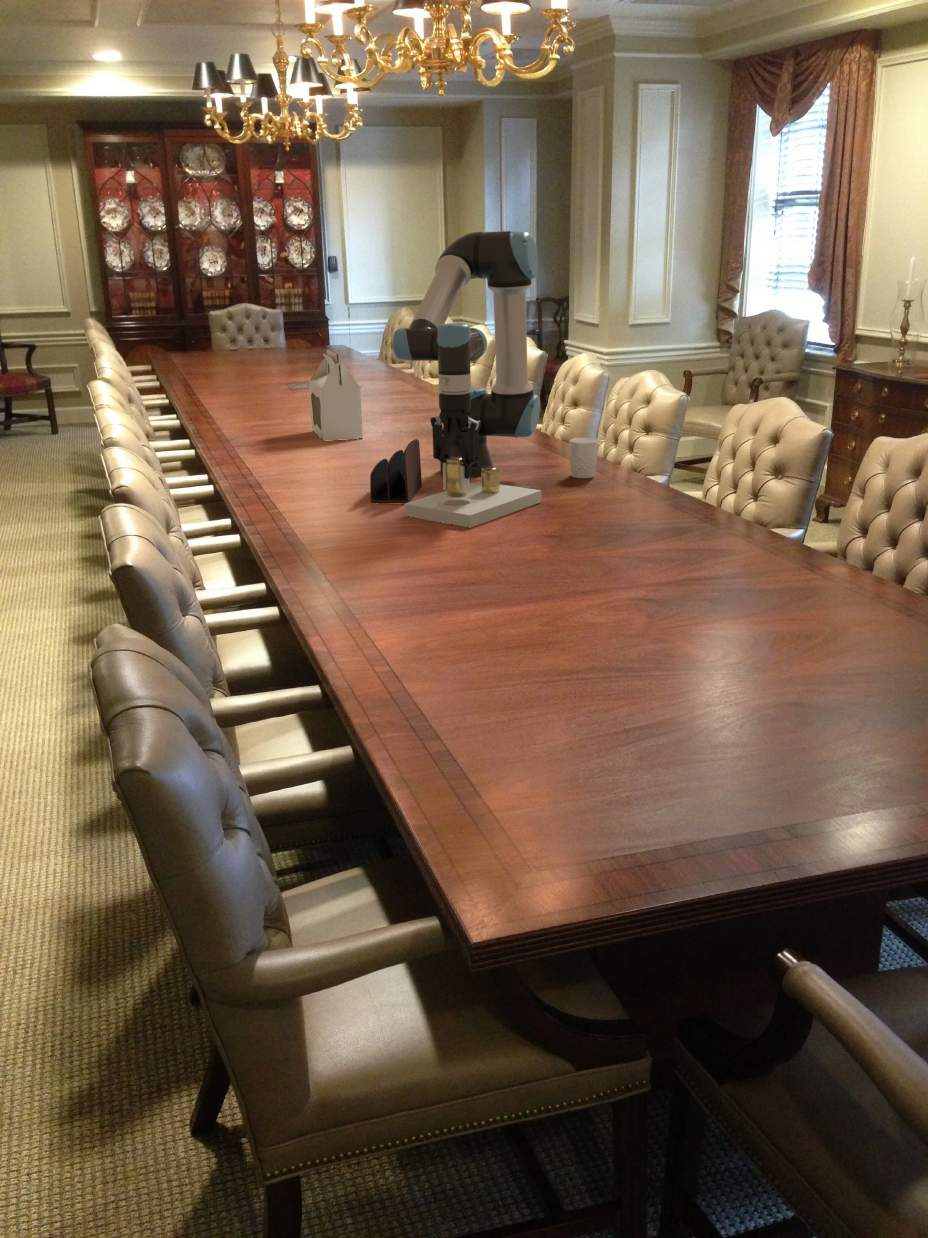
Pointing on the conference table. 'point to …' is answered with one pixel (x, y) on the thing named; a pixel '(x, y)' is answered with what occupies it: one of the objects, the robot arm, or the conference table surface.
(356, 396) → the gable box
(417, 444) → the letter holder
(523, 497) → the jig plate
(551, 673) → the conference table surface
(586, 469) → the white cup
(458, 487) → the loose bushing
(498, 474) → the cylinder
